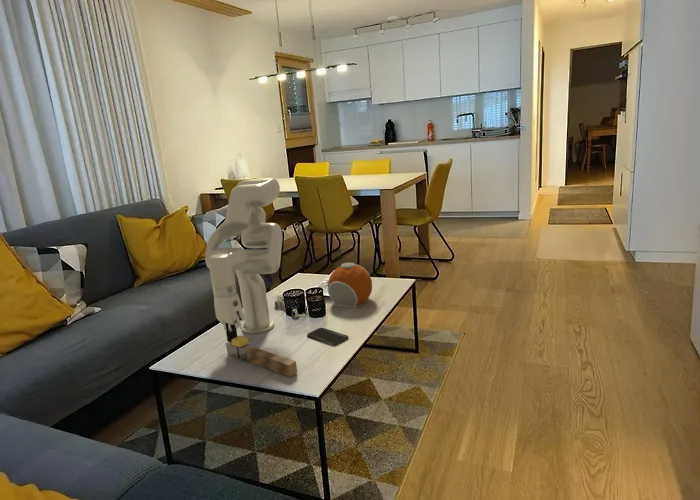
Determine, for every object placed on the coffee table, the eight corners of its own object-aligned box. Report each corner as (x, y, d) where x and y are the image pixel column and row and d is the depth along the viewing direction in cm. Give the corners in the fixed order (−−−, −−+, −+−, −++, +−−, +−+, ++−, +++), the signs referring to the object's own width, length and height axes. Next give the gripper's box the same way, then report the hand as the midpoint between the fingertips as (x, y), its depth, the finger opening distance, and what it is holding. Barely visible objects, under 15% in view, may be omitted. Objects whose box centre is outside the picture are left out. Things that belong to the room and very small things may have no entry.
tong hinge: (226, 355, 164) (224, 343, 163) (236, 350, 168) (234, 338, 167) (245, 362, 158) (243, 350, 157) (255, 357, 161) (253, 344, 160)
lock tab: (232, 344, 161) (231, 339, 161) (240, 340, 164) (239, 335, 163) (239, 347, 159) (238, 341, 158) (248, 343, 162) (247, 337, 161)
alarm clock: (380, 297, 207) (377, 259, 202) (360, 312, 192) (357, 271, 188) (343, 293, 217) (340, 256, 212) (321, 306, 202) (317, 268, 198)
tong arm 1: (247, 361, 158) (245, 350, 157) (251, 359, 159) (249, 348, 158) (290, 376, 146) (288, 365, 145) (293, 374, 147) (292, 363, 146)
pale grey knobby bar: (295, 320, 191) (294, 308, 190) (270, 304, 211) (268, 294, 210) (319, 312, 197) (317, 301, 196) (292, 298, 217) (290, 288, 216)
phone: (320, 327, 180) (349, 336, 169) (321, 329, 180) (349, 339, 170) (305, 334, 174) (334, 344, 164) (305, 337, 174) (334, 347, 164)
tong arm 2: (251, 359, 160) (249, 348, 159) (254, 357, 161) (253, 346, 160) (293, 374, 147) (292, 363, 146) (297, 372, 148) (295, 361, 147)
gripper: (247, 290, 157) (255, 340, 161) (220, 283, 166) (228, 332, 171) (229, 297, 151) (237, 349, 156) (202, 290, 161) (210, 340, 165)
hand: (232, 340), depth 163 cm, fingers closed
